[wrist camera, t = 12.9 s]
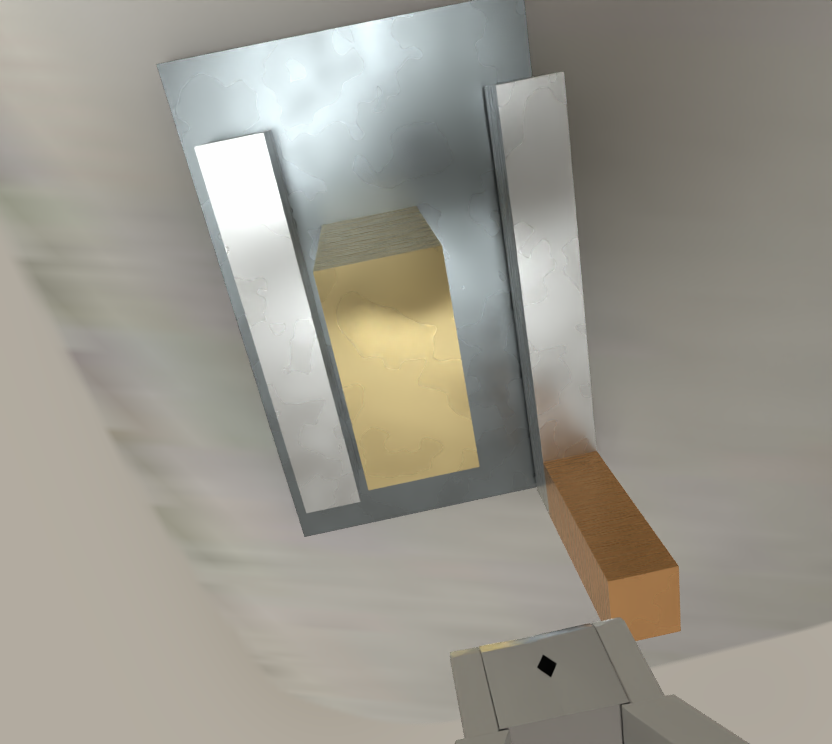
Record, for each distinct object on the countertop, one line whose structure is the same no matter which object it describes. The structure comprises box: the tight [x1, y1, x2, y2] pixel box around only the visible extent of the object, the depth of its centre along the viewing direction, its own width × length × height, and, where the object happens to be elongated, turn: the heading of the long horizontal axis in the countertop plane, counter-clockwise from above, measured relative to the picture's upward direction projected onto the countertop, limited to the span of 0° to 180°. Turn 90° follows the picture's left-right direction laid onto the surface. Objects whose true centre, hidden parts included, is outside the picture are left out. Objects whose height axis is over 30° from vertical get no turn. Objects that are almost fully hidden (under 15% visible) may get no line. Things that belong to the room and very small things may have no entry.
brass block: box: [313, 206, 479, 490], centre depth 25 cm, size 4×8×8 cm, turn 10°
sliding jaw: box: [484, 72, 681, 641], centre depth 24 cm, size 19×2×10 cm, turn 10°
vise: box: [156, 0, 537, 537], centre depth 28 cm, size 22×14×4 cm, turn 11°
